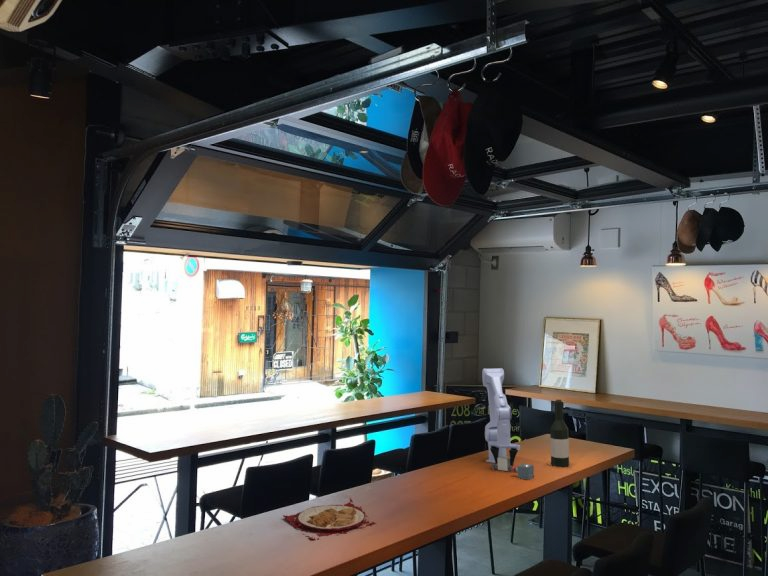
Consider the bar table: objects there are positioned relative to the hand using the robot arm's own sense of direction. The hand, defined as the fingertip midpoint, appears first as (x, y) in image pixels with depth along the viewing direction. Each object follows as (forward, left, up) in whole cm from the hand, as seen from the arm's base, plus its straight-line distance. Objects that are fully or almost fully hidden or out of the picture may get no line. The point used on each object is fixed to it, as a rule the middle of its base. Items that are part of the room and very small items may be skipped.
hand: (504, 464), depth 269 cm
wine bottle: (-21, +19, -3) cm, 28 cm away
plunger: (+7, +9, -1) cm, 11 cm away
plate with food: (+94, -25, -3) cm, 97 cm away
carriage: (0, 0, -2) cm, 2 cm away
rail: (0, +4, -2) cm, 4 cm away
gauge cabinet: (+8, +12, -2) cm, 15 cm away
